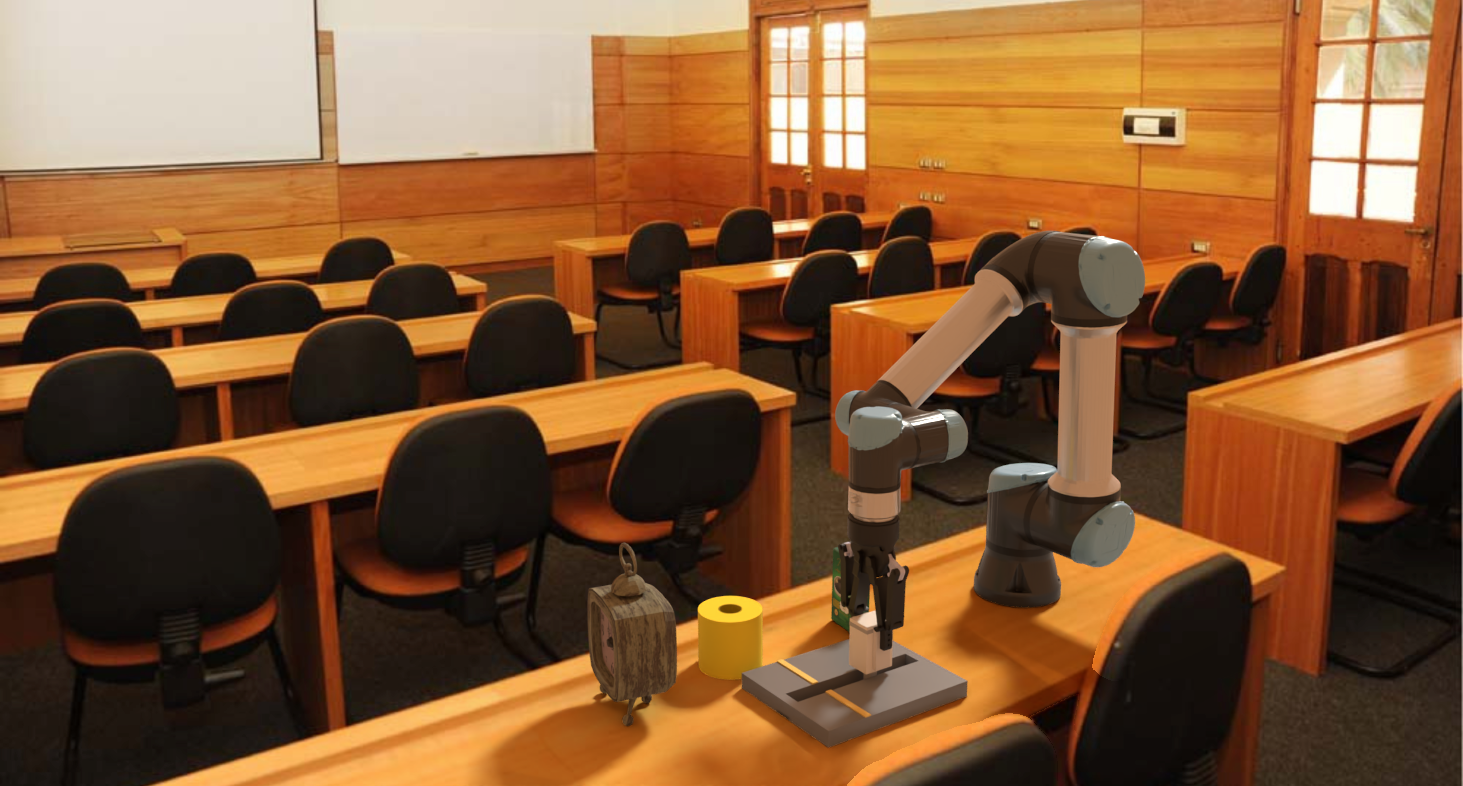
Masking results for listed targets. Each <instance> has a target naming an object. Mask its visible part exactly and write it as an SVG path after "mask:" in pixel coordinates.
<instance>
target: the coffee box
mask: <svg viewBox="0 0 1463 786" xmlns="http://www.w3.org/2000/svg"><path fill="white" fill-rule="evenodd" d="M831 577H832V578H831V580H832V583H831V614H830V619H831V620H832V621H833V622H834V623H835V624H836V625H838V626H840V627H842V628H843V629H844V630H846V631H847V632H848V633H849V634H850V625H849V621H850V618H851V615H850V614H849V611H848V608H847V607H843V606H842V605H841V559H840V555H839V550H838V546H836V547H833V548H832V575H831ZM870 592H871V588H870V589H869V594H868V600H867V605H866V606H867V607H868V608H870V596H871V593H870ZM849 597H851V596H848V598H849ZM868 608H867V609H868ZM869 612H870V609H869V610H868V611H864V612H863V614H864V613H869Z"/></svg>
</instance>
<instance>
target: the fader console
mask: <svg viewBox="0 0 1463 786" xmlns="http://www.w3.org/2000/svg"><path fill="white" fill-rule="evenodd" d="M968 683H969V682H968V680H966V679H965V678H963V677H962V676H959V674H956V673H954V672H952V671H950V670H948V669H947V668H945V667H943V666H941V665H939V664H937V663H936V662H934V661H931V660H930V659H928V658H926V657H924V656H922V655H921V654H918V653H917V652H915V651H913V650H911V649H909V648H907V647H906V646H904V645H902V644H900V643H898V642H897V641H895V640H893V647H892V666H890V667H887V668H884V669H881V670H878V671H877V675H876V676H873V677H870V678H867V679H864V673H863V672H861V671H859V670H857V669H856V668H854V667H852V666H851V665H849V639H845V640H841V641H838V642H835V643H832V644H829V645H825V646H823V647H820V648H817V649H813V650H810V651H806V652H804V653H801V654H797V655H795V656H791V657H788V658H785V659H783V658H781V659H777V660H776V662H772V663H769V664H765V665H763V666H762V667H759V668H756V669H753V670H749V671H746V672H743V673H742V679H741V689H742V690H744V691H745V692H747V694H749V695H750V696H753V697H754V698H755V699H757V700H758V701H759V702H761V703H762V704H764V705H765V706H767V707H769V709H772V710H773V711H774V712H776V713H777V714H779V715H780V716H782V717H783V718H785V719H786V720H787V721H789V722H790V723H792V724H793V725H795V726H796V727H798V728H800V729H801V730H802V731H804V732H805V733H807V734H808V735H810V736H811V737H812V738H814V739H815V740H817V741H818V742H819V743H821V744H823V745H824V746H825V747H826V748H827V749H828V748H831V747H833V746H837V745H840V744H842V743H845V742H847V741H850V740H852V739H855V738H858V737H861V736H864V735H866V734H869V733H872V732H874V731H877V730H880V729H883V728H885V727H888V726H891V725H893V724H896V723H899V722H901V721H904V720H907V719H910V718H912V717H916V716H917V715H920V714H923V713H927V712H929V711H931V710H933V709H936V708H940V707H942V706H944V705H948V704H951V703H952V702H955V701H958V700H960V699H963V698H967V697H968Z"/></svg>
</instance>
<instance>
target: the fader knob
mask: <svg viewBox="0 0 1463 786" xmlns="http://www.w3.org/2000/svg"><path fill="white" fill-rule="evenodd" d="M885 621H886V620H885ZM849 625H850V633H849V665H851V666H852V667H854V668H856V669H857V670H859V671H861V672H863V673H864V679H867V678H870V677H873V676H876V675H877V671H878V670H877V671H875V670H873V669H872V667H873V628H874V627H877V619H876V610H875V609H874V610H872V611H869V613H865V614H862V615H859V616H855V617H852V618H850V621H849ZM893 641H894V635H893V636H892V647H893ZM890 666H892V648H891V649H890ZM890 666H889V667H890ZM886 668H887V667H886ZM883 669H884V668H883ZM880 670H881V669H880Z"/></svg>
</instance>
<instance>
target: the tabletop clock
mask: <svg viewBox="0 0 1463 786" xmlns="http://www.w3.org/2000/svg"><path fill="white" fill-rule="evenodd" d="M624 549H626V551H627V552H628V554H629V555H630V558H631V561H632V564H633V568H632V564H631V563H630V562H628V563H626V561H625V559H624V556H623V551H624ZM618 554H619V555H618V556H619V560H620V564H621V567H622V569H623V570H624V573H622V574H620V575H618V576H617V577H615V578H614V579H613V581H612V582H611V583H612V584H608V585H603V586H602V585H601V586H595V587H589V588H588V589H587V599H586V600H587V602H586V603H587V608H586V609H587V614H586V615H587V620H586V621H587V639H588V641H587V642H588V652H589V660H590V666H591V669H592V672H593V674H594V676H595V678H596V680H597V681H598V683H599V684H600V685H599V691H600V692H601V693H603V694H606V695H607V696H608V697H609V698H610V699H611V700H612V701H613V702H616V703H619V702H624V701H628V703H627V705H628V706H627V713H626V714H625V715H624V716H622V719H621V720H622V724H623V725H624V726H625V727H630V726H632V725H633V723H634V717H633V715H632V713H633V709H634V706H635V702H636V701H637V699H639V698H641V702H642V703H643V704H649V703H651V701H652V700H653V695H654V696H655V695H658V694H663V693H666V692H667V691H668V690H669V689H671V688H672V687H673V686H674V685H675V684H676V682H677V674H678V643H677V640H678V639H677V637H678V636H677V623H676V614H675V610H674V609H673V606H672V605H671V603H670V602H669V600H668V599H667V598H665V596H664V595H663V593H661V592H660V591H659V590H658V589H657V588H656V587H655V586H654V585H652V584H649V583H647V582H645V580H644V579H643V577H641V576H640V575H638V574H637V573H638V564H637V563H638V562H637V558H636V554H635V551H634V550H633V548H632V547H631V546H630V545H629V543H626V542H622V543H621V544H620V545H619V548H618ZM632 570H633V571H632Z"/></svg>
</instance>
